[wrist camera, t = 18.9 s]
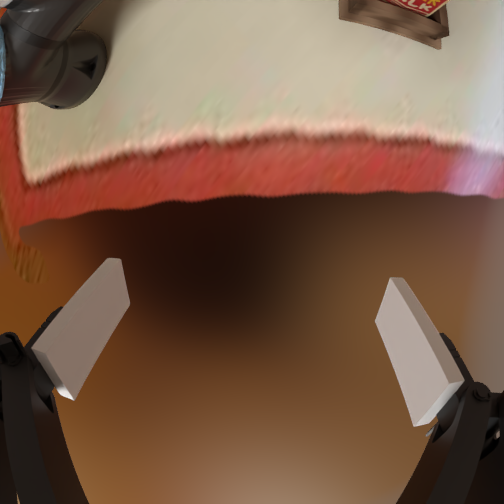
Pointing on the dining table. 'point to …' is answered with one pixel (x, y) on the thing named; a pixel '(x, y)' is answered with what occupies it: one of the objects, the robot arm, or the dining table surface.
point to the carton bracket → (397, 20)
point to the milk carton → (418, 5)
